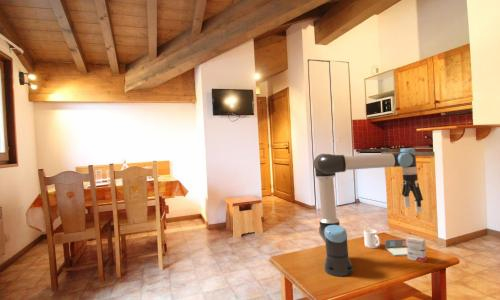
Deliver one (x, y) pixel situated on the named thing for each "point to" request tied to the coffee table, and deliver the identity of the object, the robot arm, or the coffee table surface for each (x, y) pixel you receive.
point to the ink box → (416, 249)
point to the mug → (371, 238)
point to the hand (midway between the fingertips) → (413, 209)
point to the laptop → (396, 247)
